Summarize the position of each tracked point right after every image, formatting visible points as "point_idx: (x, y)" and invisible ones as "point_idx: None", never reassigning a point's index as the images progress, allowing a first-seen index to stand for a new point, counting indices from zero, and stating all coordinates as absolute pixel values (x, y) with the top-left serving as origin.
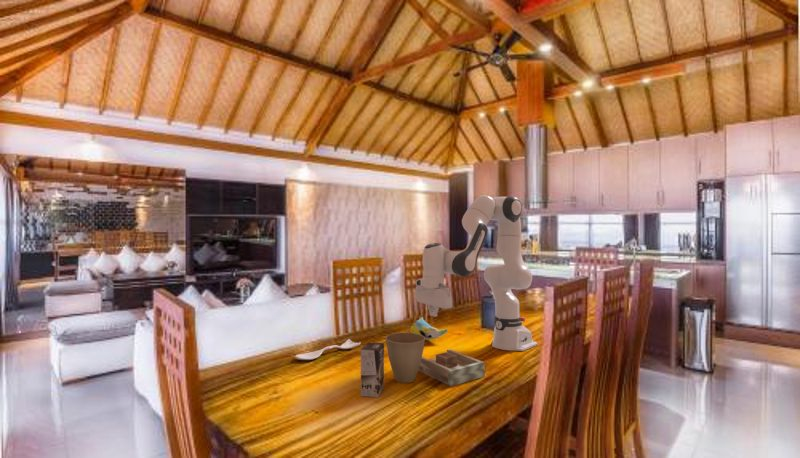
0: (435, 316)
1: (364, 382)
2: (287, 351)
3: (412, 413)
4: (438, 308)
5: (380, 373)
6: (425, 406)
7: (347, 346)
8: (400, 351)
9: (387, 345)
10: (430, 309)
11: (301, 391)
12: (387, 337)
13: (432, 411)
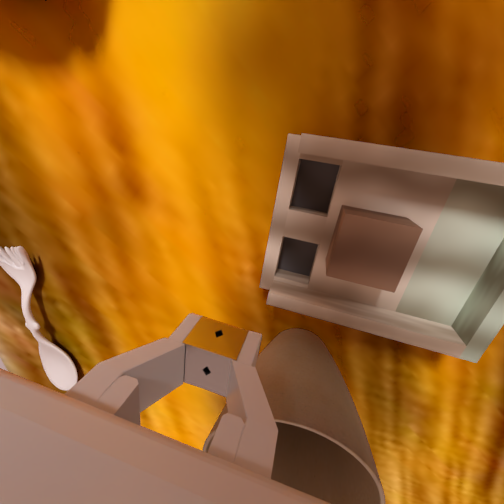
0: (258, 350)
1: None
2: (8, 351)
3: (444, 473)
4: (273, 440)
5: None
6: (452, 443)
7: (23, 271)
8: (323, 492)
9: None
10: (158, 392)
11: None
12: None
13: (484, 456)
